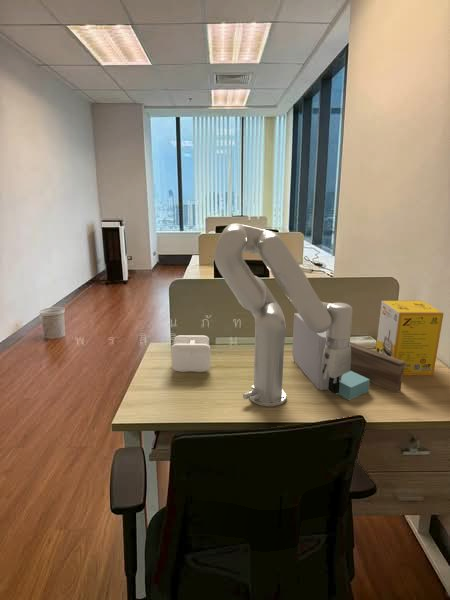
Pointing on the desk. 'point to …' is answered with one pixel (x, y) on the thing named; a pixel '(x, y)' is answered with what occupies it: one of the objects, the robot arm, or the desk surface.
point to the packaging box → (410, 334)
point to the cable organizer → (191, 353)
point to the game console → (309, 352)
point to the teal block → (353, 385)
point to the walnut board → (377, 367)
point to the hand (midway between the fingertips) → (333, 391)
